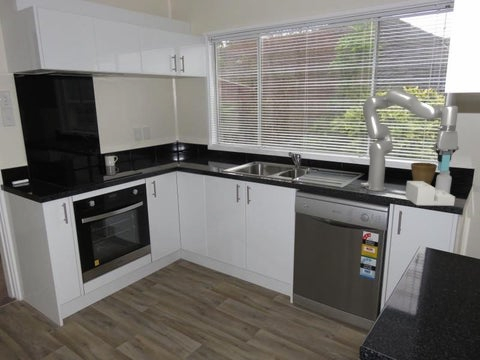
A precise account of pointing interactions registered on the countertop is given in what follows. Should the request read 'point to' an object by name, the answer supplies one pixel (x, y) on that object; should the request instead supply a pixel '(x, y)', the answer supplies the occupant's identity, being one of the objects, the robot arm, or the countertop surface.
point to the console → (427, 194)
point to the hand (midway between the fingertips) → (444, 161)
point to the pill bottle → (443, 181)
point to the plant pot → (423, 172)
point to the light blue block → (444, 161)
